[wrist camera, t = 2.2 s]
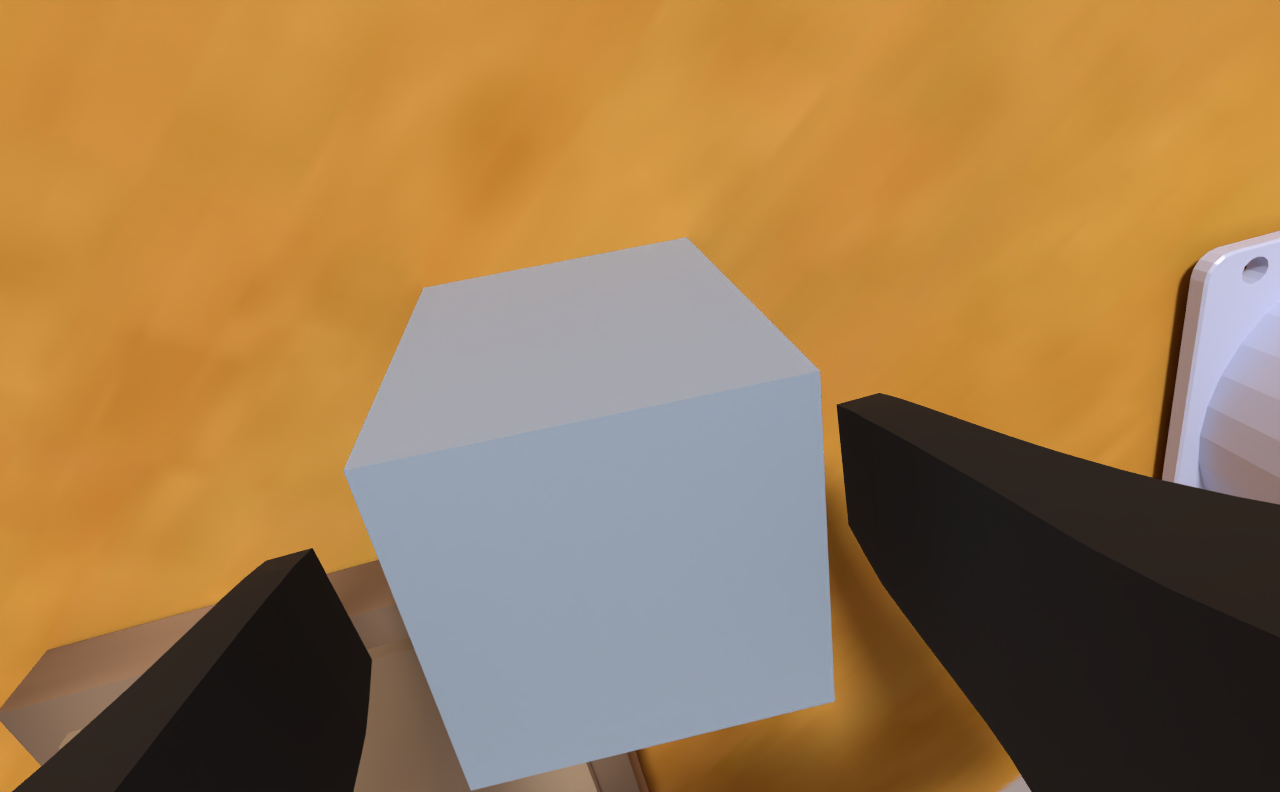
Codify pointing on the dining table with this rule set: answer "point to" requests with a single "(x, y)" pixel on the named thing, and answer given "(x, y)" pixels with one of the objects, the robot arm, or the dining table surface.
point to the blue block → (600, 509)
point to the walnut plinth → (397, 716)
